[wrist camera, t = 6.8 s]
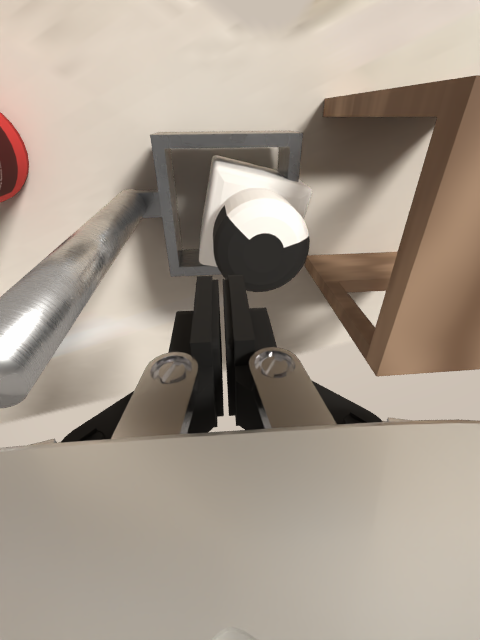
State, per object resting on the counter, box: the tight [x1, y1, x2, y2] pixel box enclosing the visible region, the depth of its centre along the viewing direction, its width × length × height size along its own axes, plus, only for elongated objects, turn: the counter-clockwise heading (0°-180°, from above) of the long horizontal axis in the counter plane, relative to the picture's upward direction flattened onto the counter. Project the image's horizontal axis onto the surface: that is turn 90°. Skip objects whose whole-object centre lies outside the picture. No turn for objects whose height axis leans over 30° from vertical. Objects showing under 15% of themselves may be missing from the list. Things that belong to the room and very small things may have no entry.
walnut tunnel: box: [305, 76, 480, 376], centre depth 22 cm, size 11×14×16 cm
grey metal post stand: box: [0, 131, 303, 408], centre depth 18 cm, size 14×10×21 cm
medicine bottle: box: [199, 155, 312, 292], centre depth 23 cm, size 7×7×12 cm
